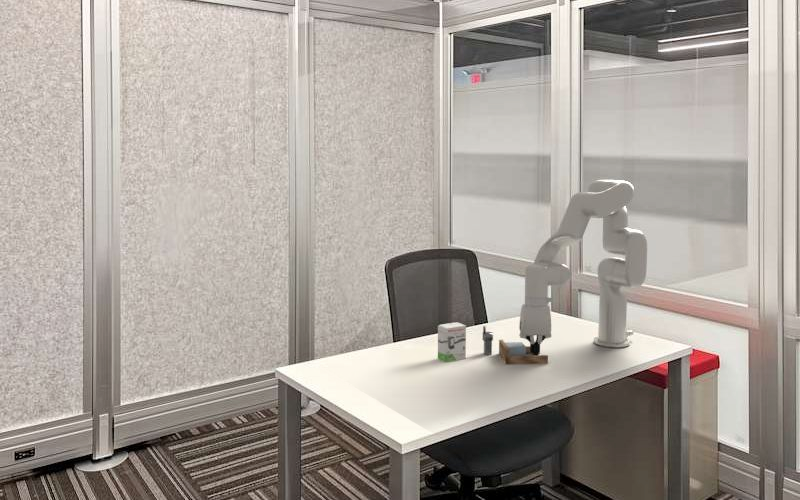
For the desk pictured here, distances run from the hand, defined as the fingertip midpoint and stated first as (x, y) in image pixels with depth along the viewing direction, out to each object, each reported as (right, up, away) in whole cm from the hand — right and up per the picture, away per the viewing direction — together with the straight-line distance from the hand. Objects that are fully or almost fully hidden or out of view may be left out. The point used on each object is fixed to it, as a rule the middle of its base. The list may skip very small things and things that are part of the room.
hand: (534, 354), depth 227 cm
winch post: (-15, -1, +6) cm, 16 cm away
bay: (-4, -1, 0) cm, 4 cm away
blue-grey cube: (-7, -2, 0) cm, 7 cm away
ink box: (-28, -2, 0) cm, 28 cm away
